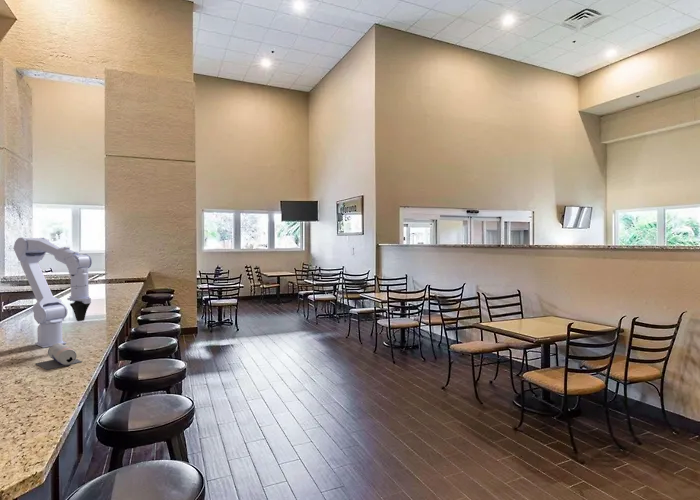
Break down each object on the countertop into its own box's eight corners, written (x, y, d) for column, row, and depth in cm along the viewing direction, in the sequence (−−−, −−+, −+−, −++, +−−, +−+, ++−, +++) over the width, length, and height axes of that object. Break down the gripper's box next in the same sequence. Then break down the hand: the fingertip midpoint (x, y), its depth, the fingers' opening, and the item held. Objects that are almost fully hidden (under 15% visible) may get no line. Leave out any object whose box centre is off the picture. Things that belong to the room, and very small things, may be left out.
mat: (35, 364, 134) (35, 363, 134) (70, 357, 142) (70, 356, 142) (46, 369, 128) (46, 368, 128) (82, 362, 137) (81, 361, 137)
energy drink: (53, 361, 139) (64, 368, 131) (43, 350, 137) (54, 356, 129) (69, 351, 143) (80, 357, 135) (60, 339, 141) (71, 345, 133)
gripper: (60, 285, 155) (61, 320, 156) (75, 287, 147) (76, 324, 147) (80, 283, 161) (81, 317, 162) (96, 286, 153) (97, 321, 153)
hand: (80, 320), depth 155 cm, fingers closed
